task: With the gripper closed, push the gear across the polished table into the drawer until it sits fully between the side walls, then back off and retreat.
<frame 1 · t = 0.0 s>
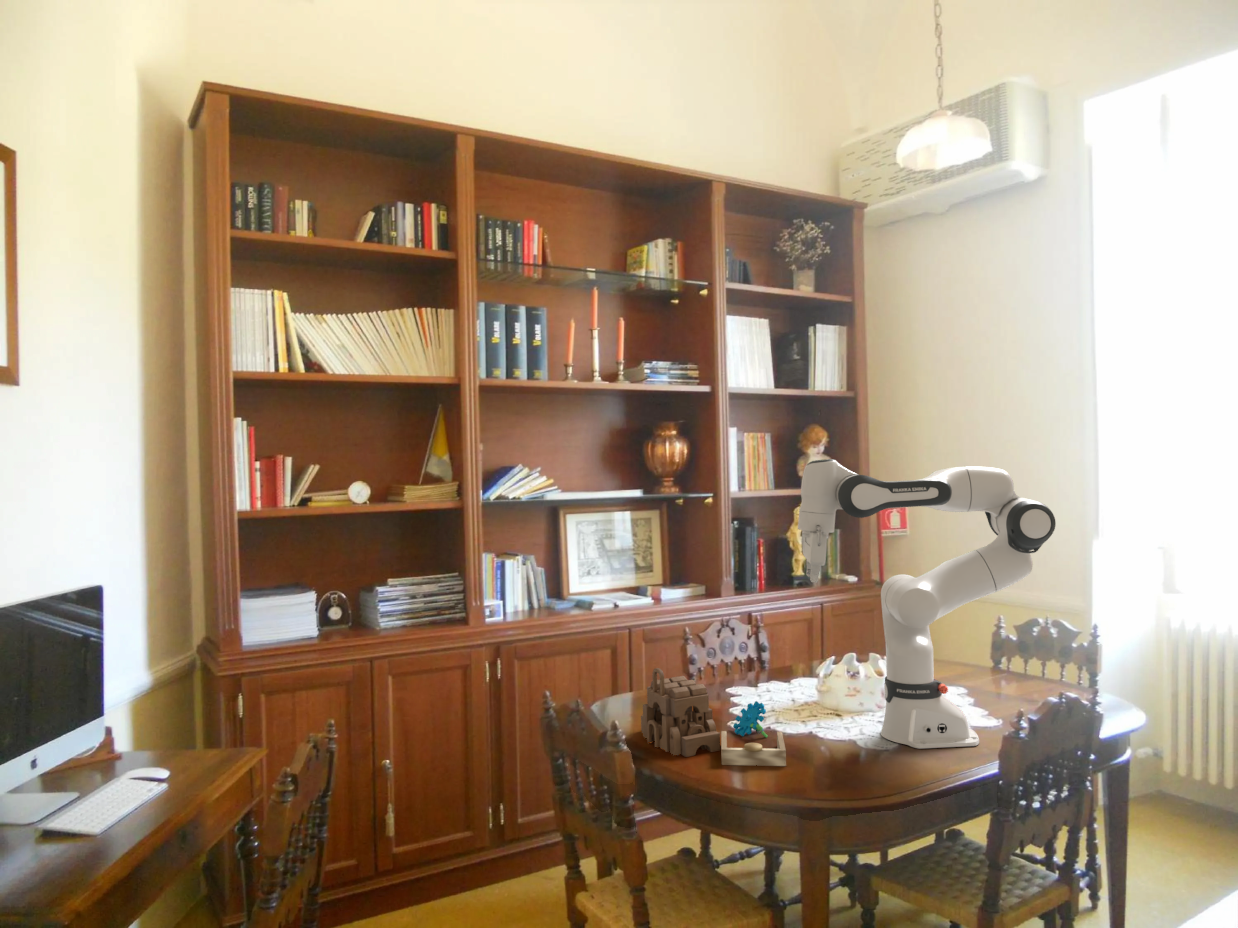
hand: (811, 579, 216), 39 cm above the table, tool pointing down, fingers open, 8 cm apart
wooden puzzle: (678, 742, 215), on the table
drawer: (752, 754, 204), on the table
gear: (750, 735, 219), on the table
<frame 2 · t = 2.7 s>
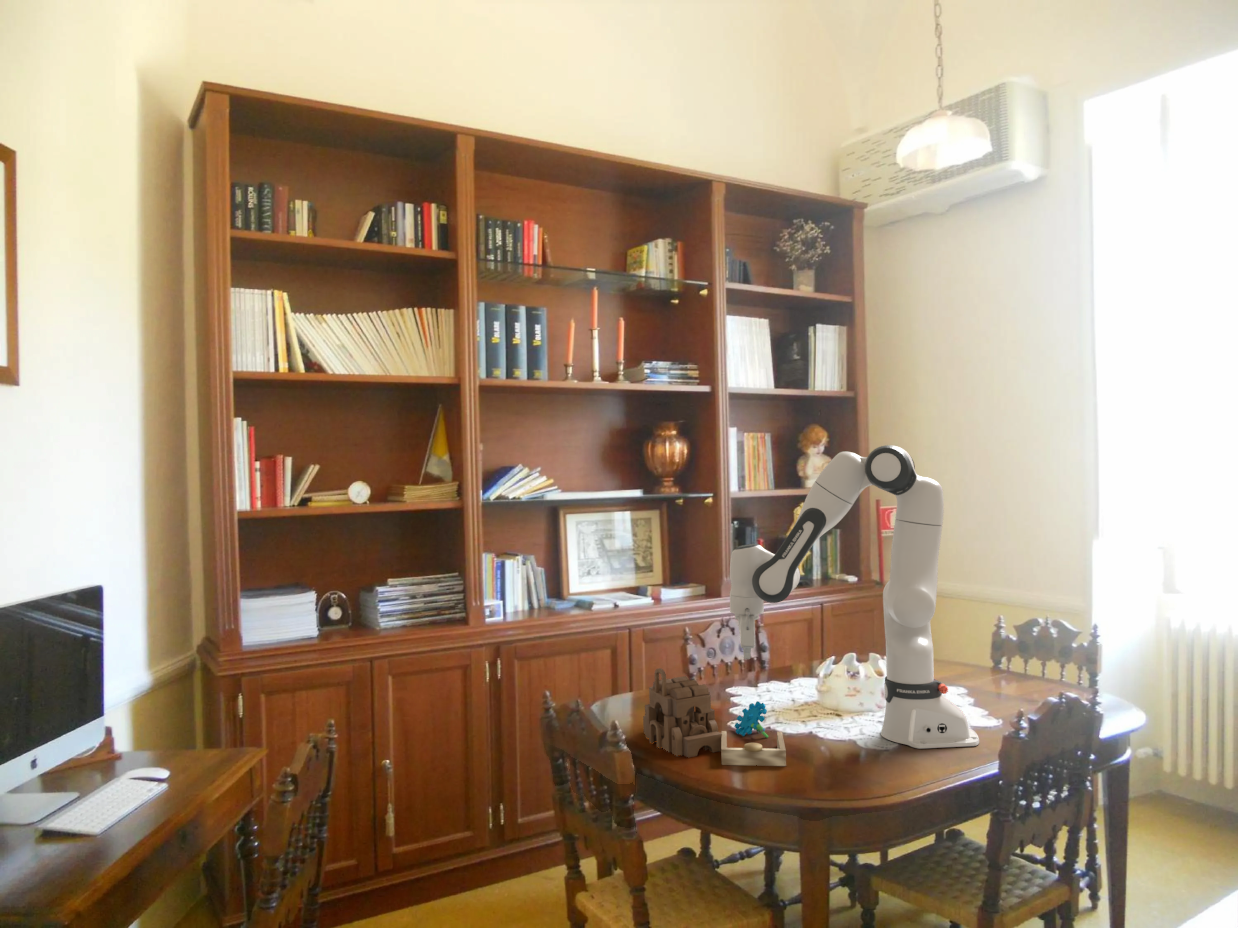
hand: (746, 657, 229), 17 cm above the table, tool pointing down, fingers closed
nothing on the table moved.
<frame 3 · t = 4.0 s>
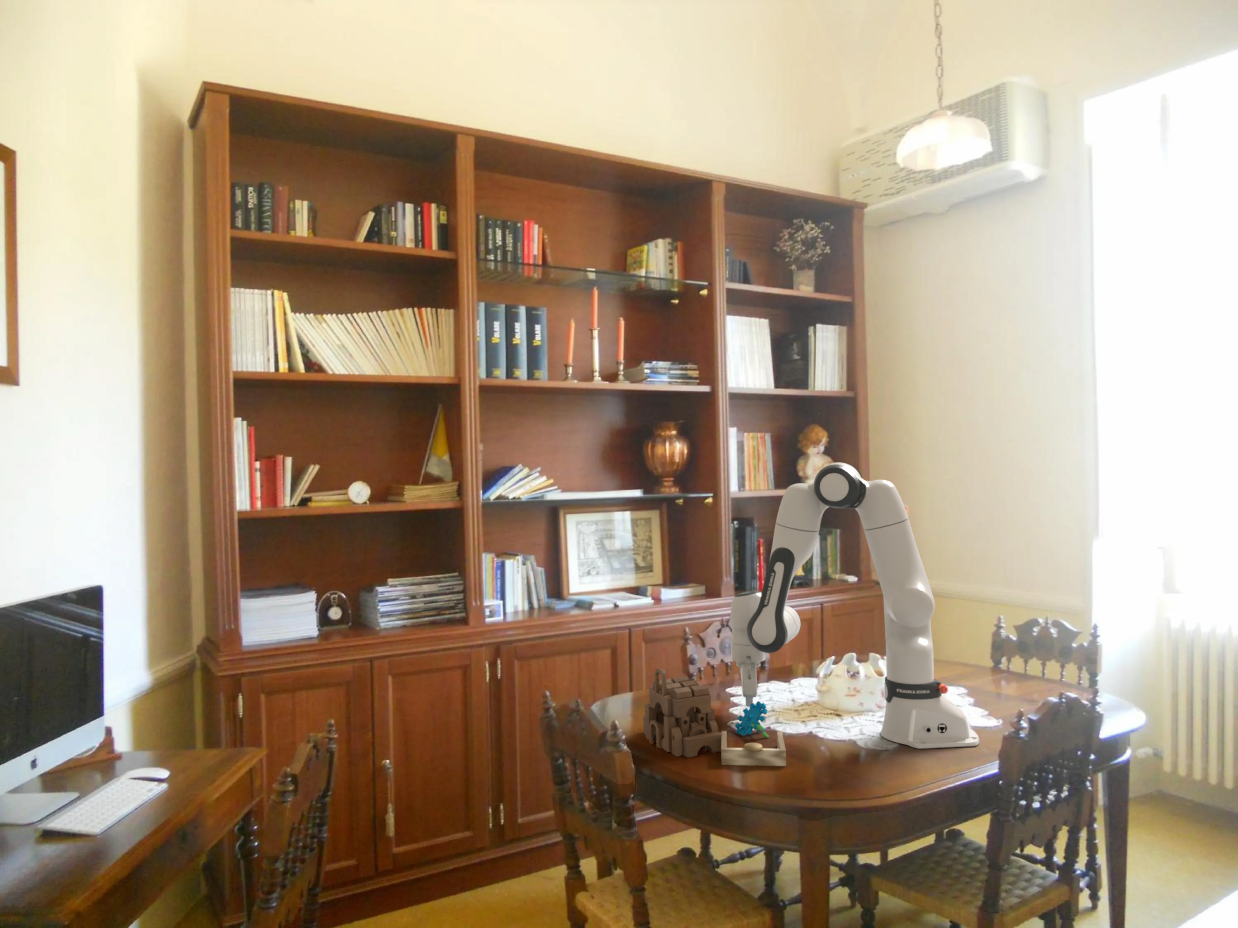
hand: (749, 704, 229), 4 cm above the table, tool pointing down, fingers closed
nothing on the table moved.
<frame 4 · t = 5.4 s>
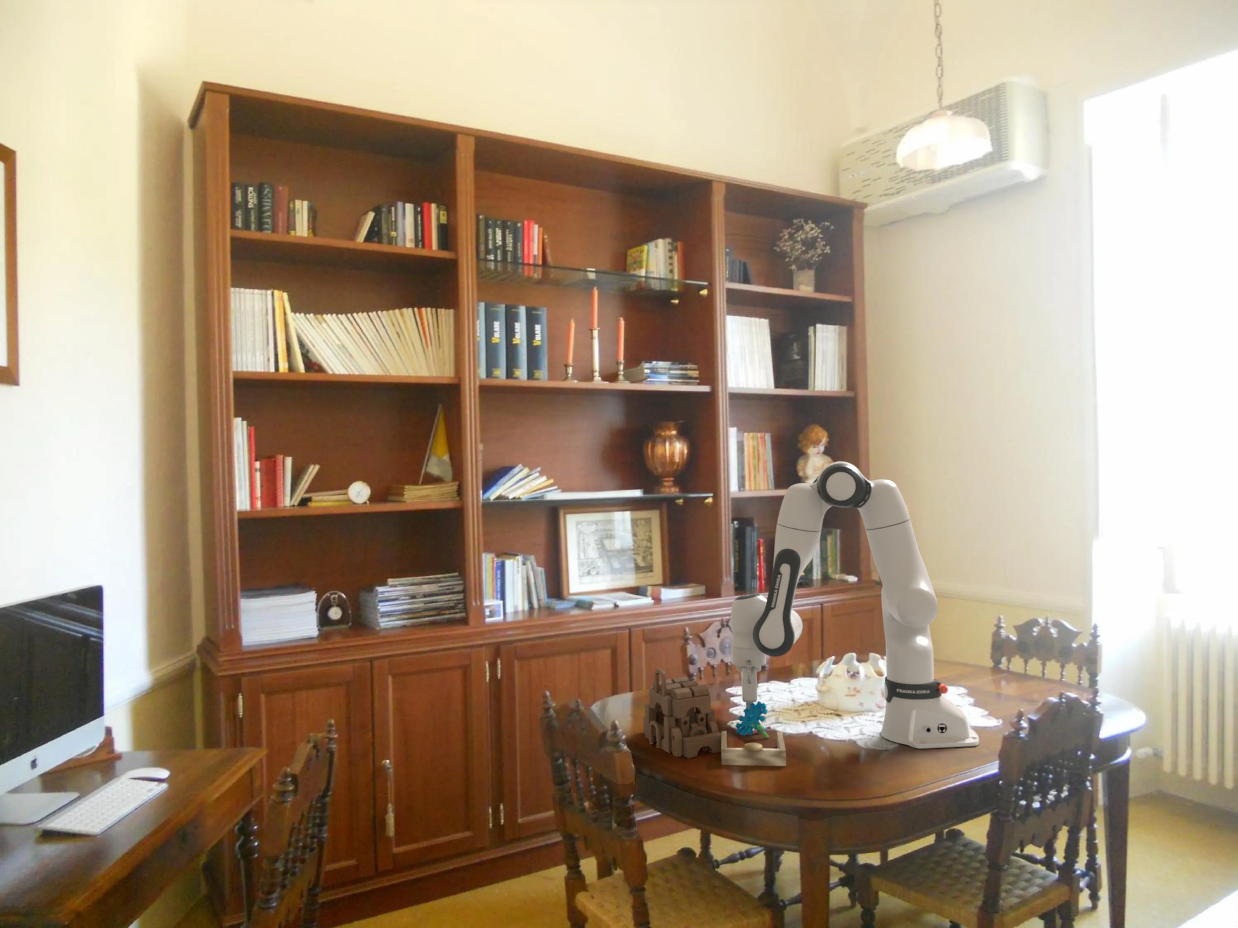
hand: (749, 709, 225), 4 cm above the table, tool pointing down, fingers closed
gear: (752, 734, 218), on the table, touching gripper
everything else where it was.
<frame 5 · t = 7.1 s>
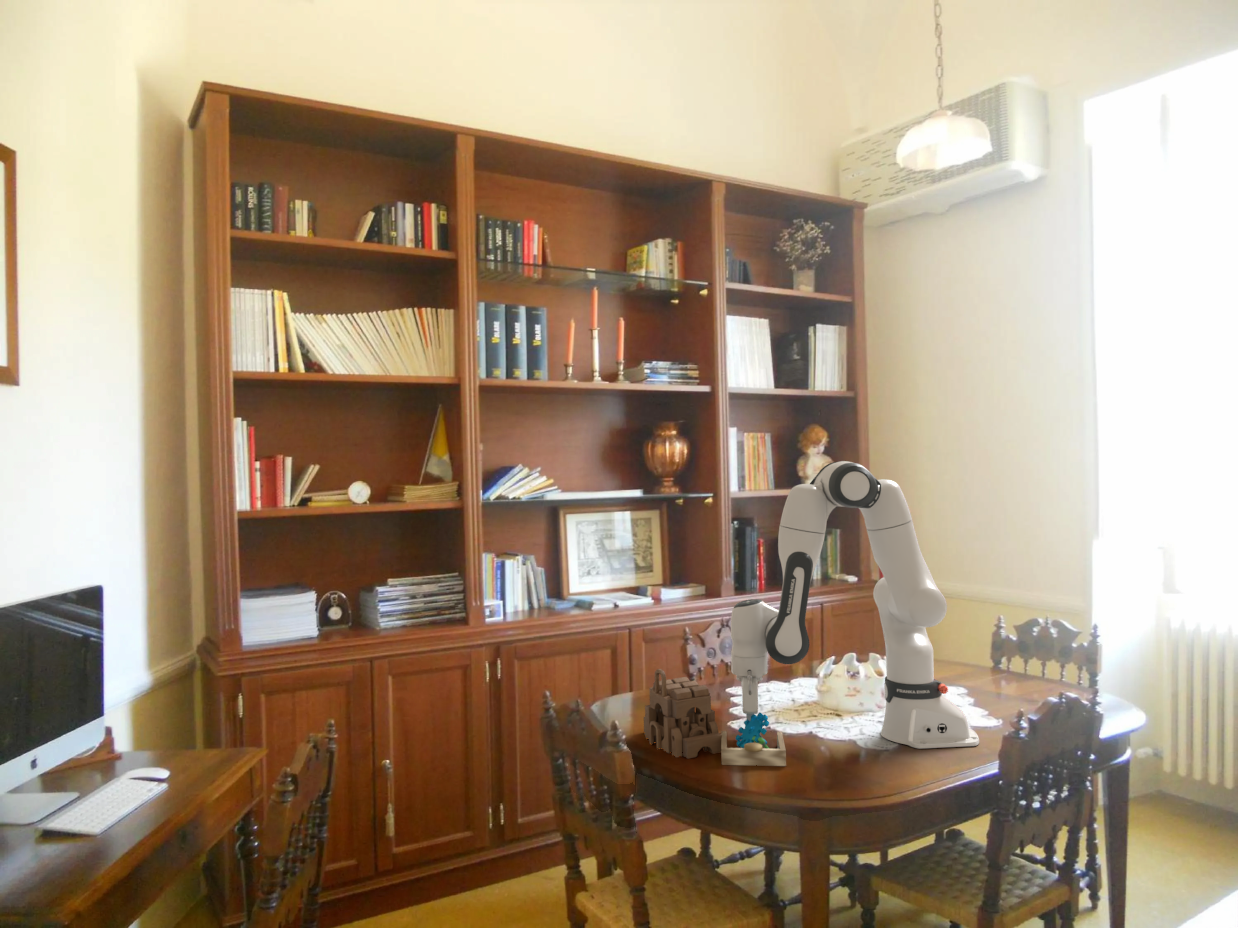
hand: (750, 721, 215), 4 cm above the table, tool pointing down, fingers closed
gear: (753, 747, 209), resting in drawer, touching gripper
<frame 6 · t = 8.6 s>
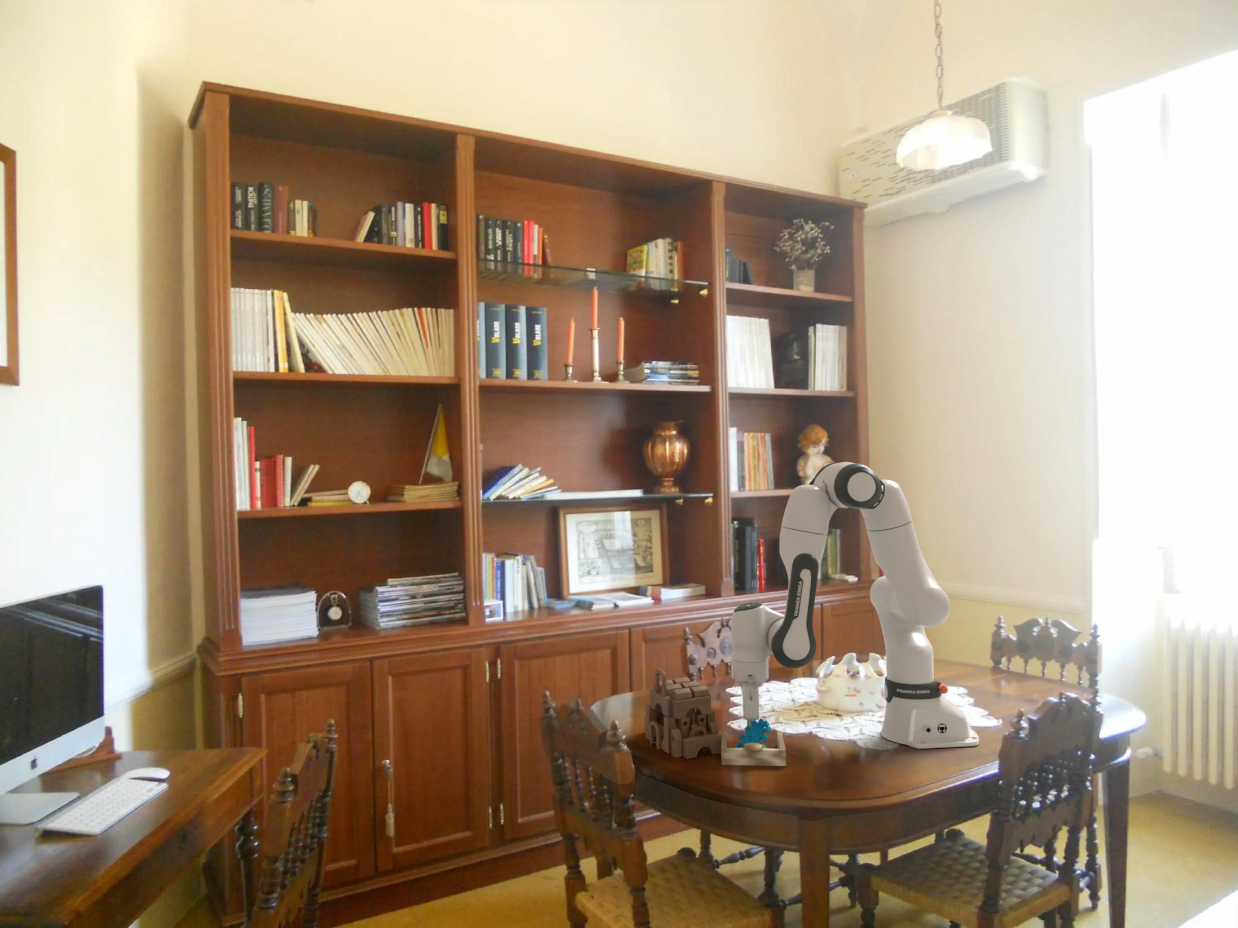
hand: (750, 727, 210), 4 cm above the table, tool pointing down, fingers closed
gear: (754, 755, 204), resting in drawer, touching gripper
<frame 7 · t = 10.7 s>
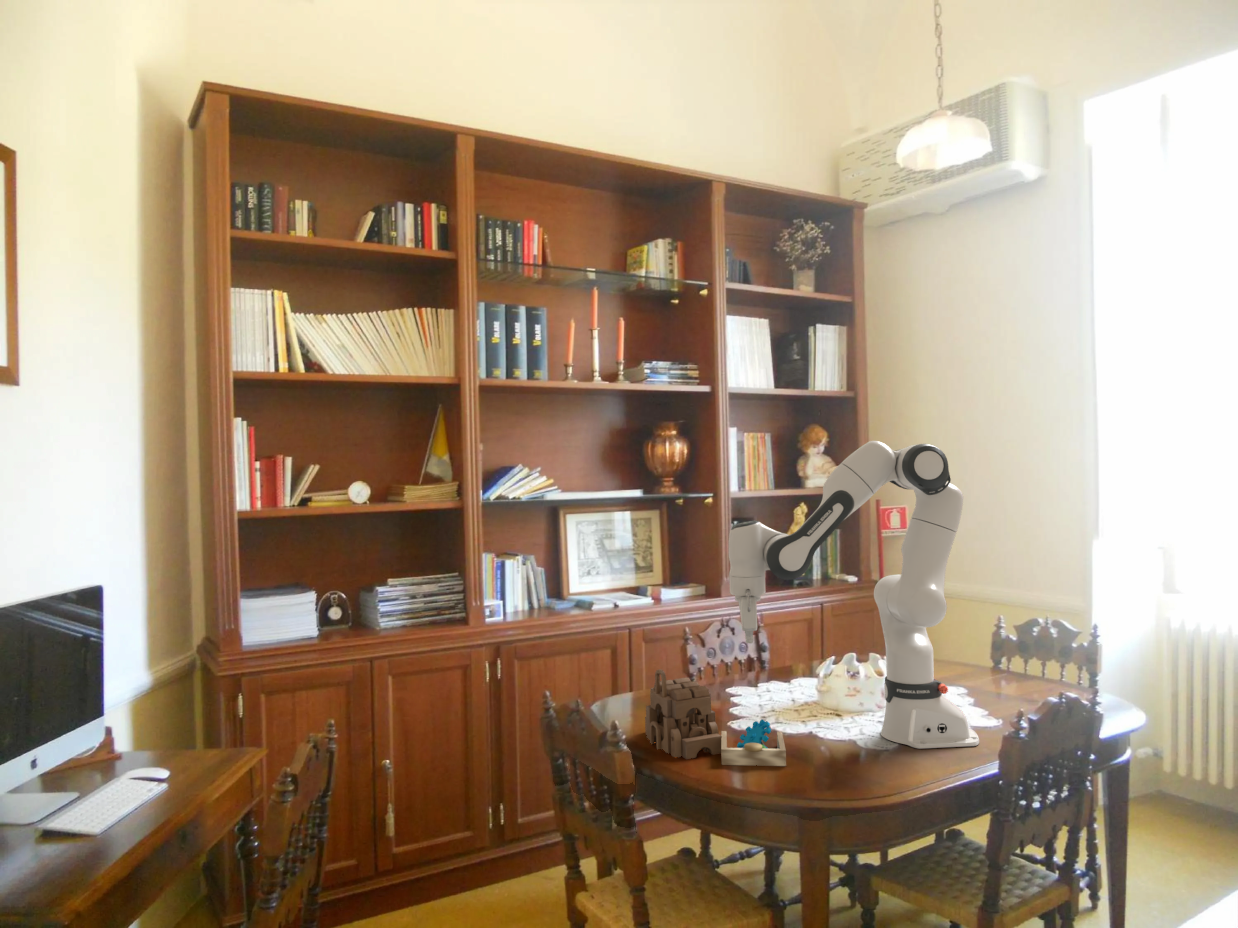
hand: (749, 642, 216), 24 cm above the table, tool pointing down, fingers closed
gear: (755, 755, 204), resting in drawer
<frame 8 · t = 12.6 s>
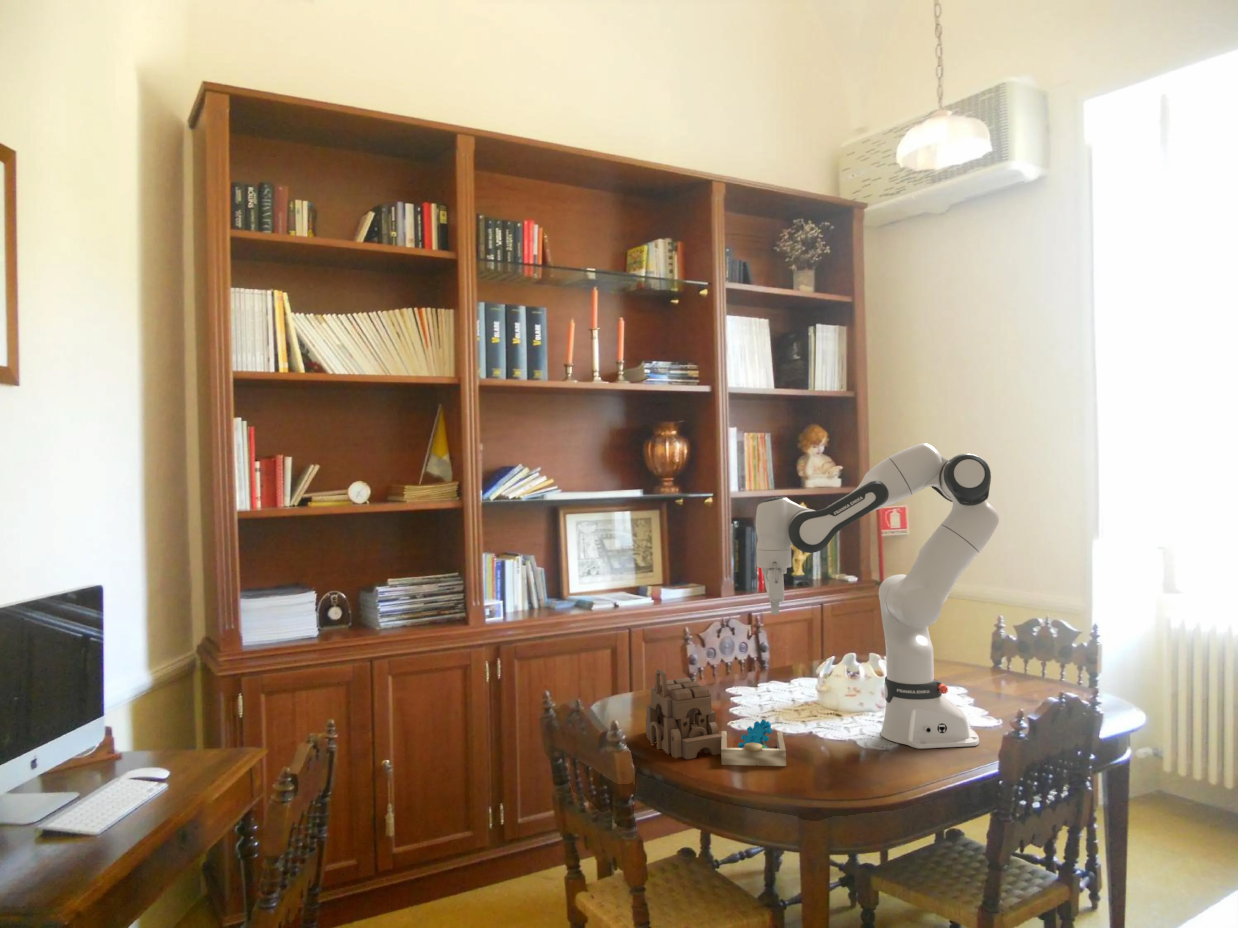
hand: (775, 613, 223), 29 cm above the table, tool pointing down, fingers closed
at the end: gear inside the target area on the drawer (0.8 cm from its centre), point 0.0 cm above the drawer's base; gear moved 15.0 cm from its start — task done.
